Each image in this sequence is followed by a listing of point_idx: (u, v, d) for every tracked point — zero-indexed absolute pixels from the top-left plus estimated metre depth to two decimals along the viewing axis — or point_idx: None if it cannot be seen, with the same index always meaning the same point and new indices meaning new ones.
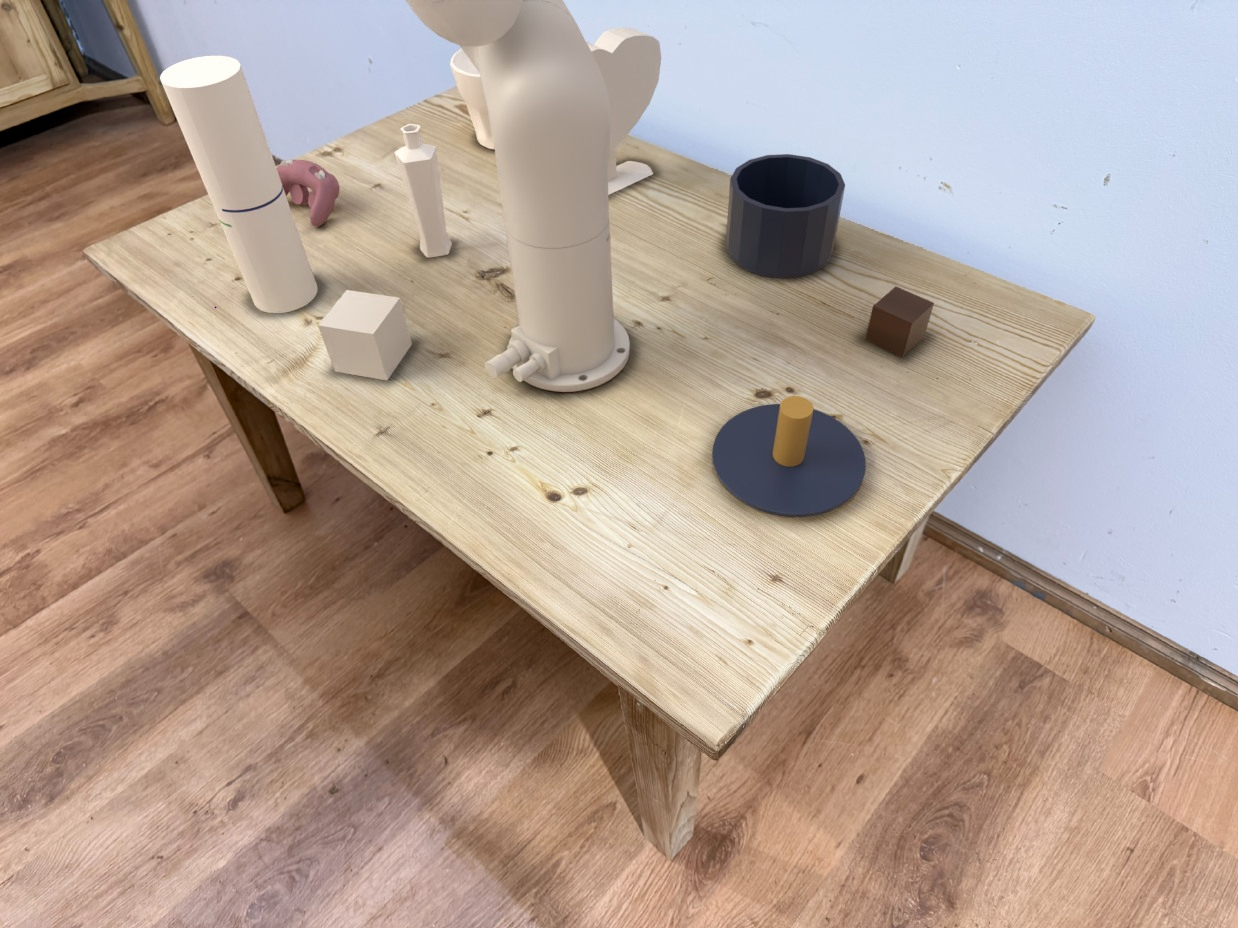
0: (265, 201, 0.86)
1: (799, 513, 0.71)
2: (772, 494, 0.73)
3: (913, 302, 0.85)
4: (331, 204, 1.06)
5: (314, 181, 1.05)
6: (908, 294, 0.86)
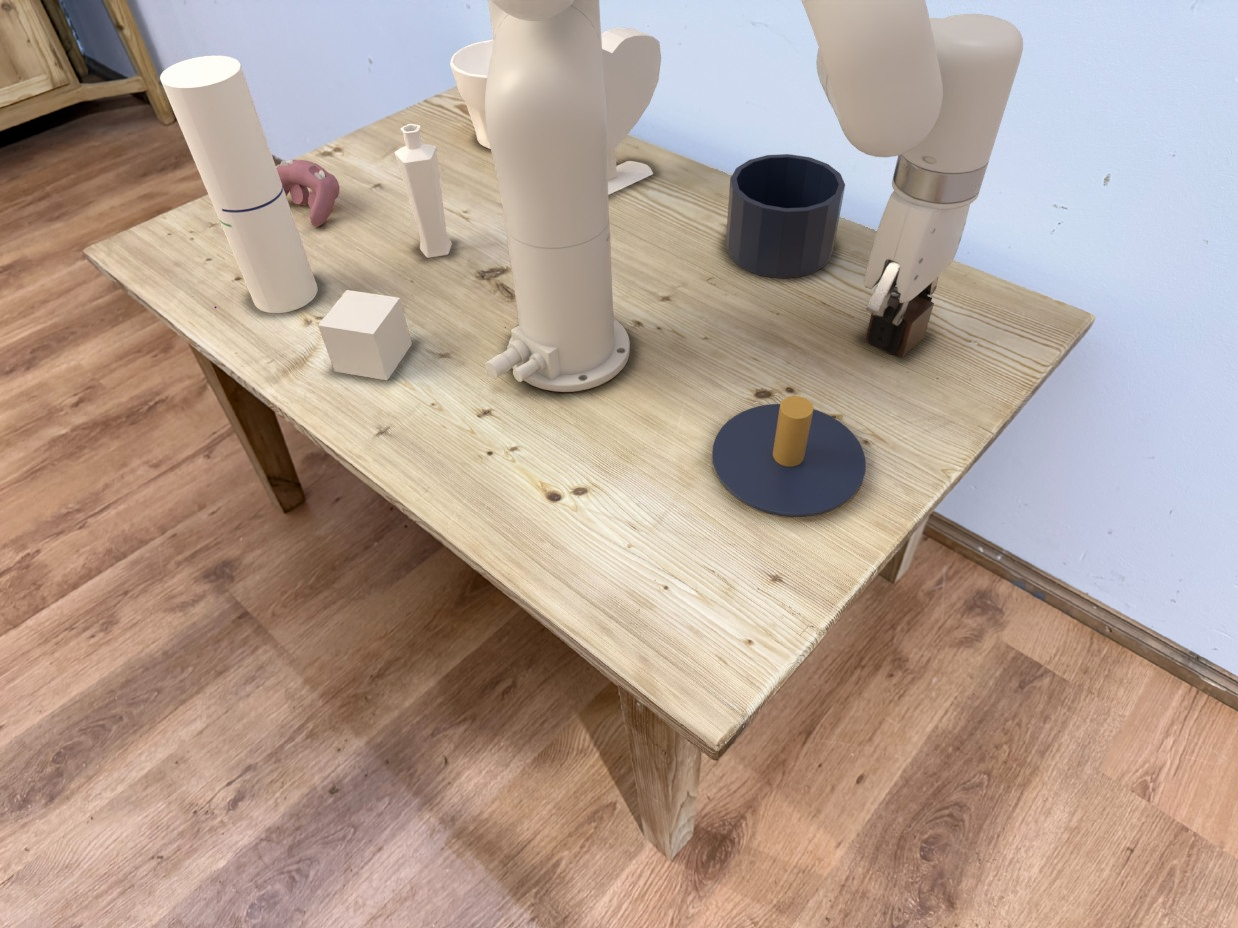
0: (265, 201, 0.86)
1: (799, 513, 0.71)
2: (772, 494, 0.73)
3: (913, 302, 0.85)
4: (331, 204, 1.06)
5: (314, 181, 1.05)
6: None
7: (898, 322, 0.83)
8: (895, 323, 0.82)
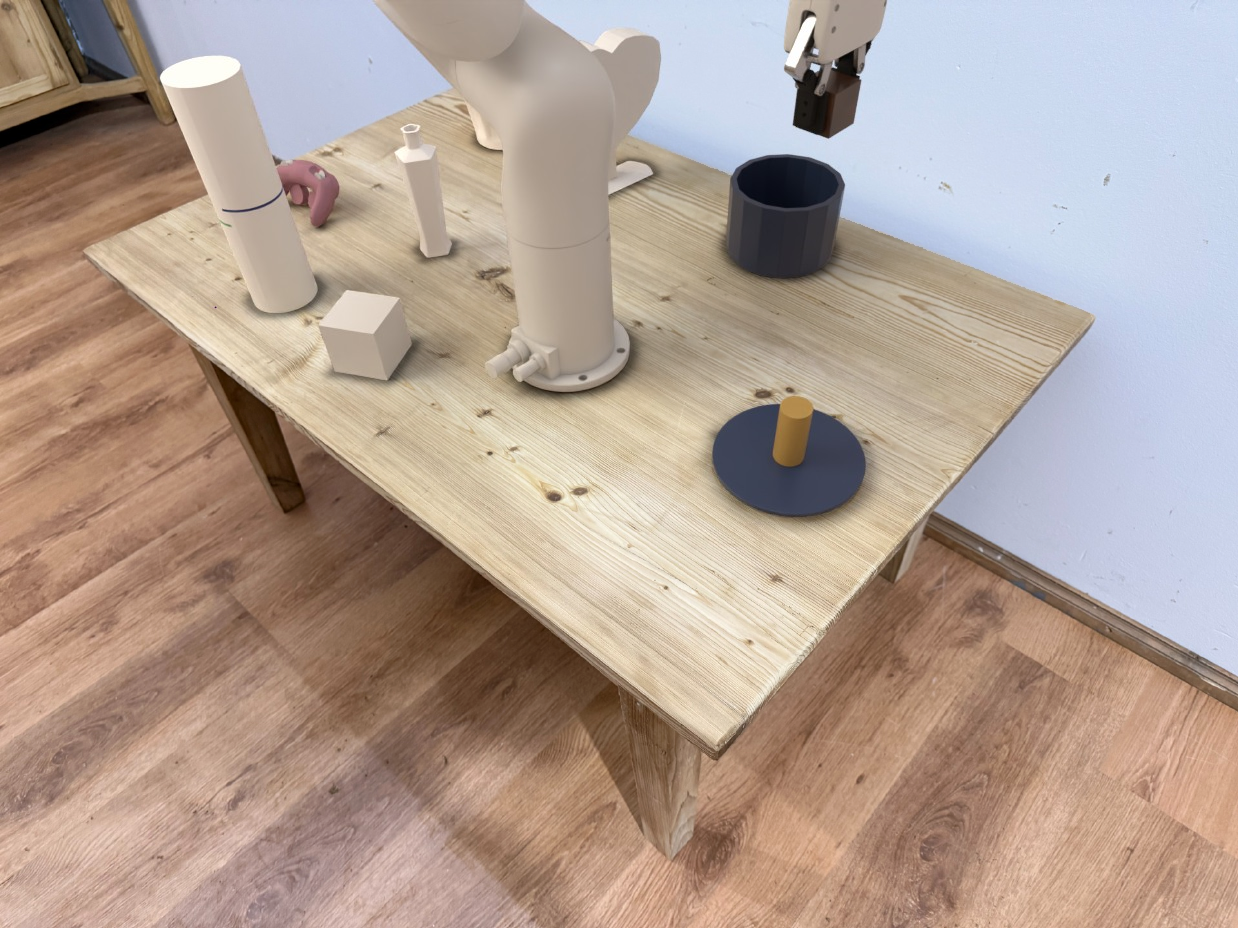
0: (265, 201, 0.86)
1: (799, 513, 0.71)
2: (772, 494, 0.73)
3: (840, 79, 0.82)
4: (331, 204, 1.06)
5: (314, 181, 1.05)
6: (835, 73, 0.83)
7: (820, 92, 0.80)
8: (817, 92, 0.80)
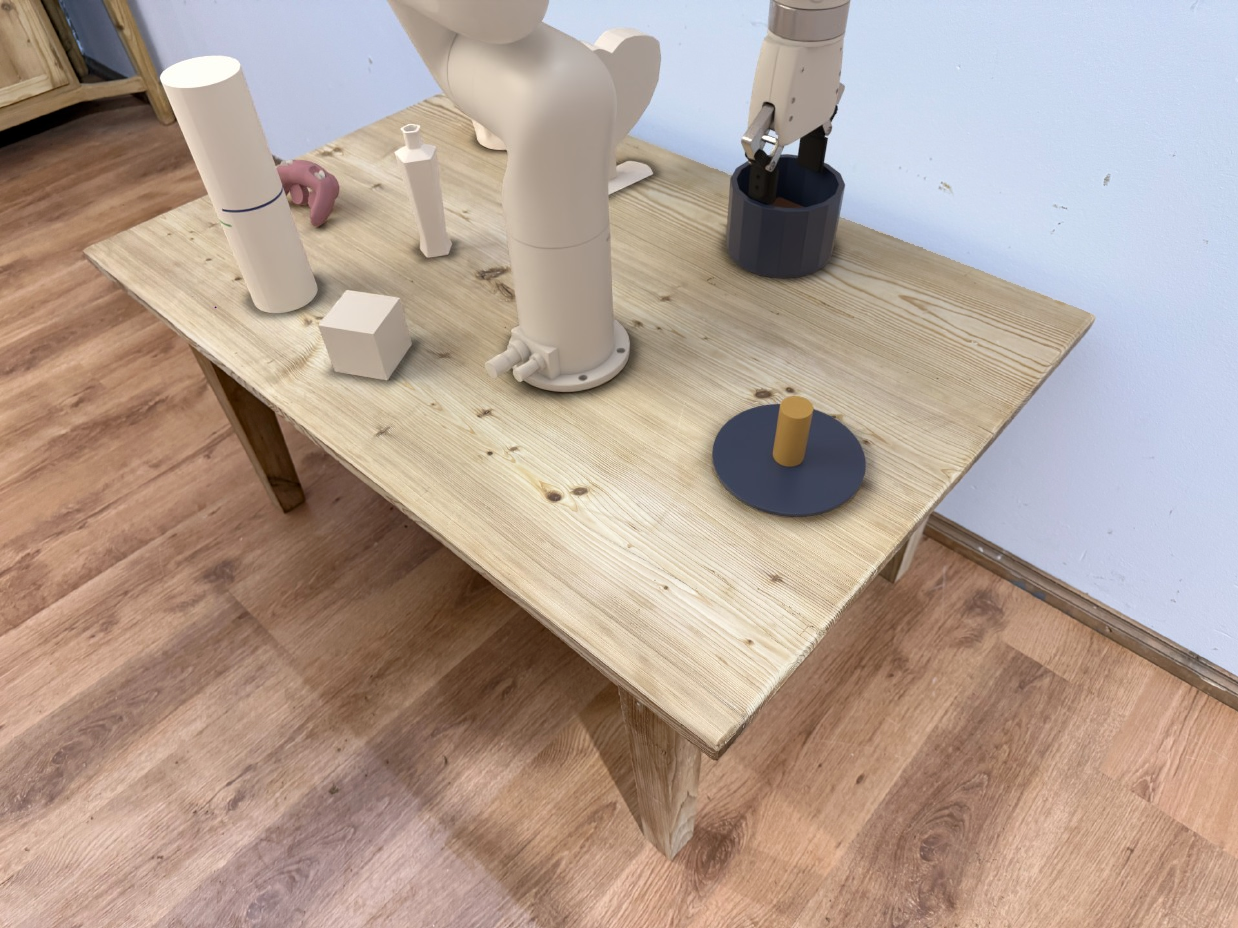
0: (265, 201, 0.86)
1: (799, 513, 0.71)
2: (772, 494, 0.73)
3: None
4: (331, 204, 1.06)
5: (314, 181, 1.05)
6: (788, 203, 0.98)
7: (771, 168, 0.88)
8: (768, 169, 0.88)
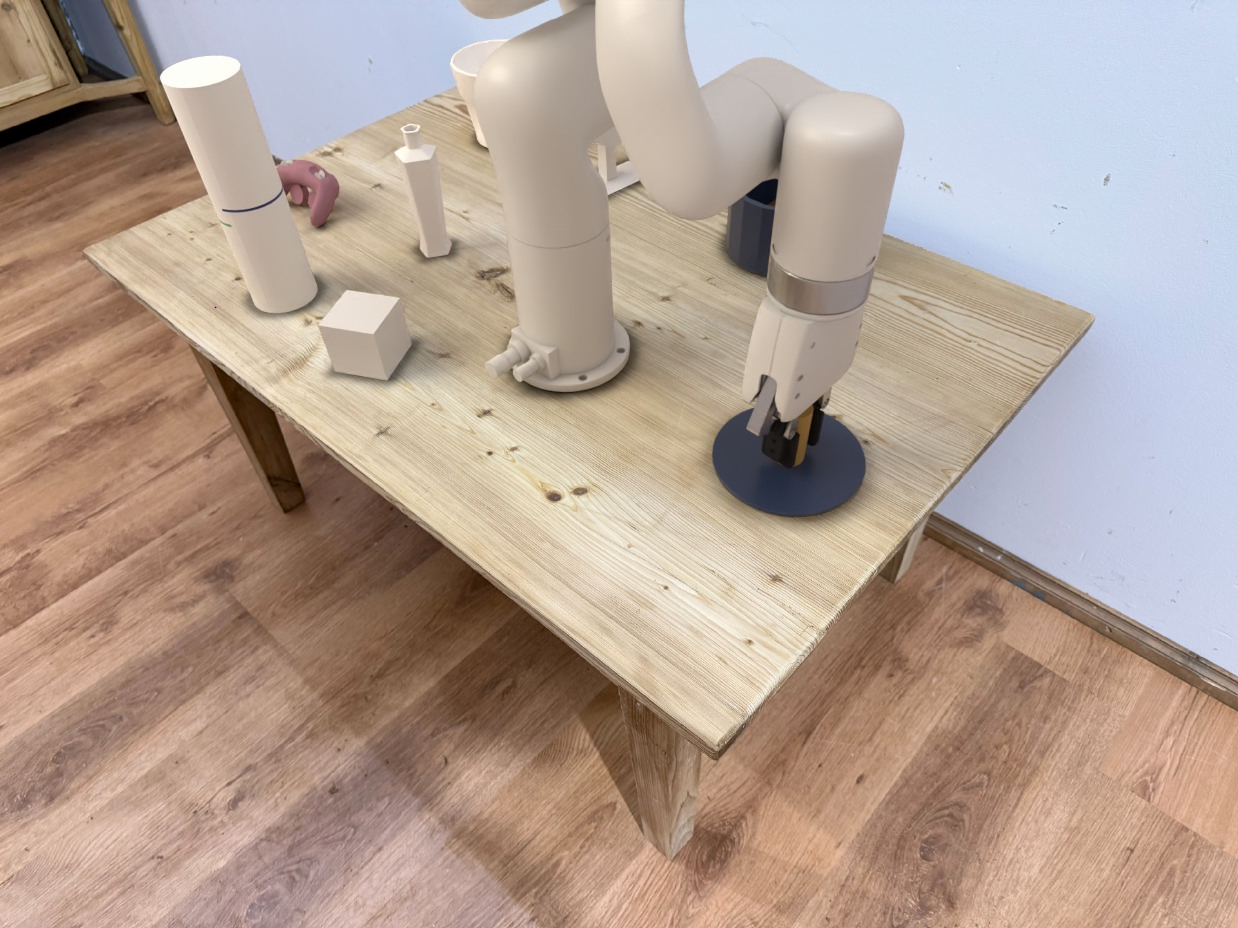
0: (265, 201, 0.86)
1: (799, 513, 0.71)
2: (772, 494, 0.73)
3: None
4: (331, 204, 1.06)
5: (314, 181, 1.05)
6: None
7: (790, 436, 0.70)
8: (786, 437, 0.70)
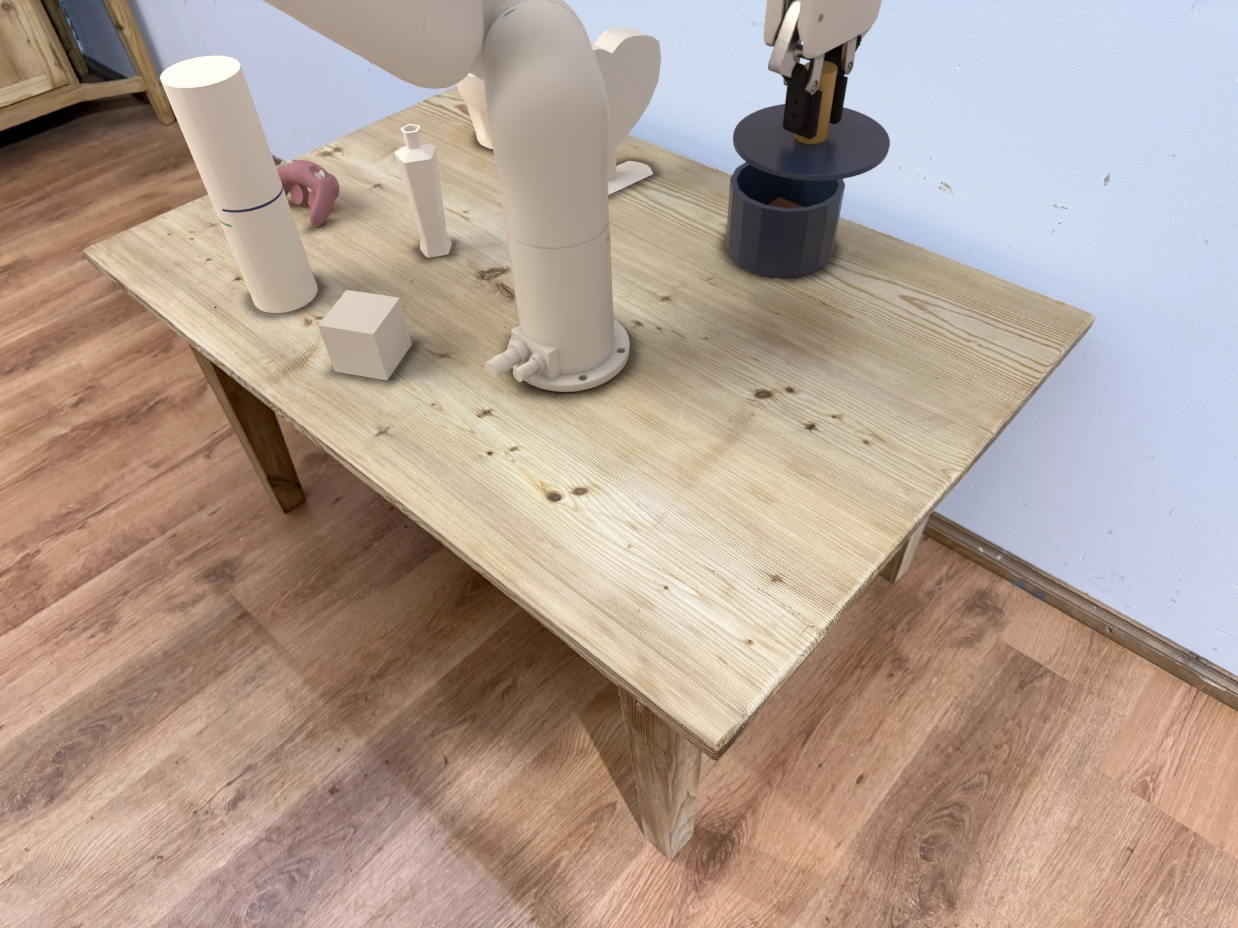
0: (265, 201, 0.86)
1: (821, 175, 0.70)
2: (793, 162, 0.72)
3: None
4: (331, 204, 1.06)
5: (314, 181, 1.05)
6: (788, 203, 0.98)
7: (812, 90, 0.69)
8: (808, 90, 0.69)
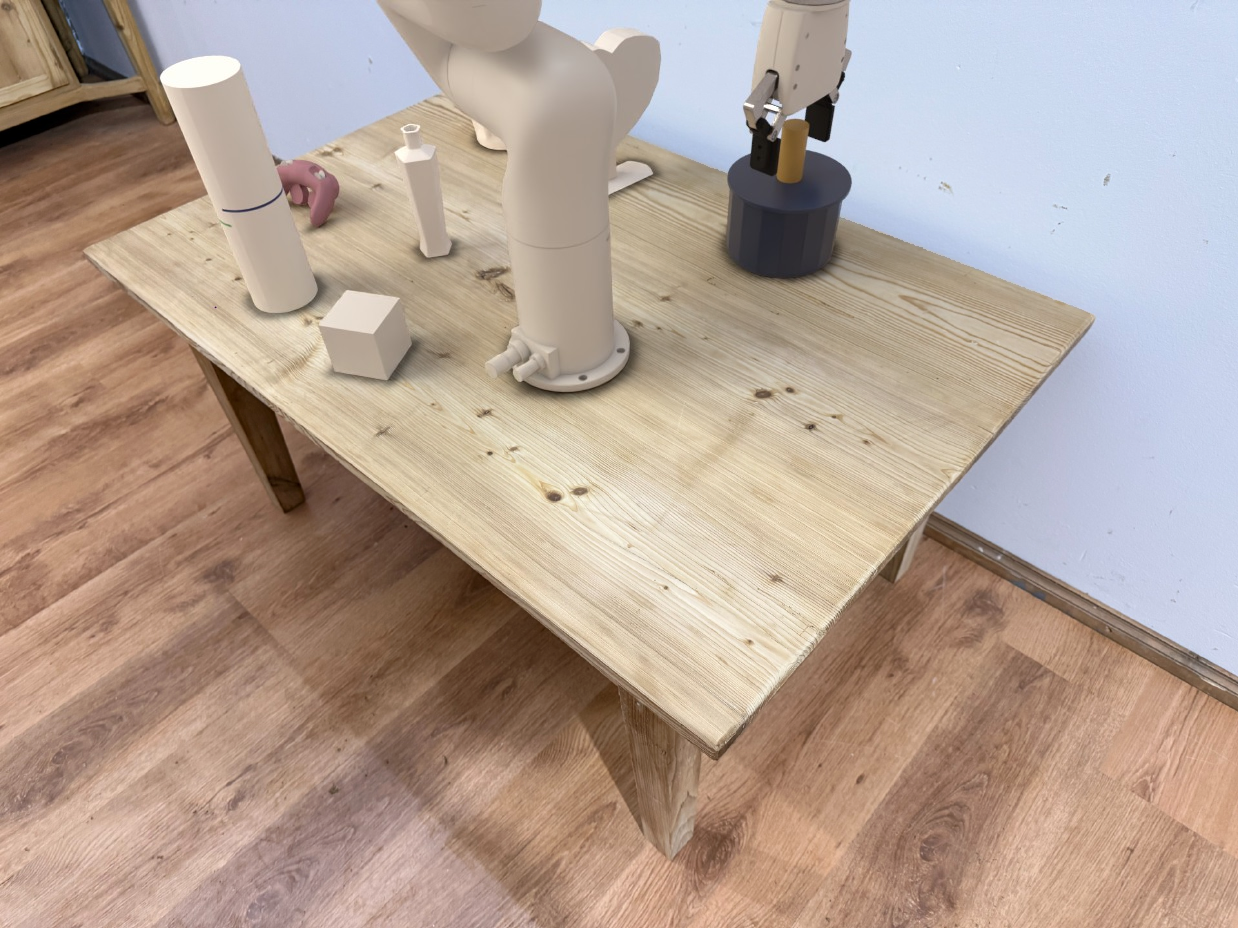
0: (265, 201, 0.86)
1: (798, 209, 0.89)
2: (776, 199, 0.91)
3: None
4: (331, 204, 1.06)
5: (314, 181, 1.05)
6: None
7: (773, 138, 0.85)
8: (770, 138, 0.85)
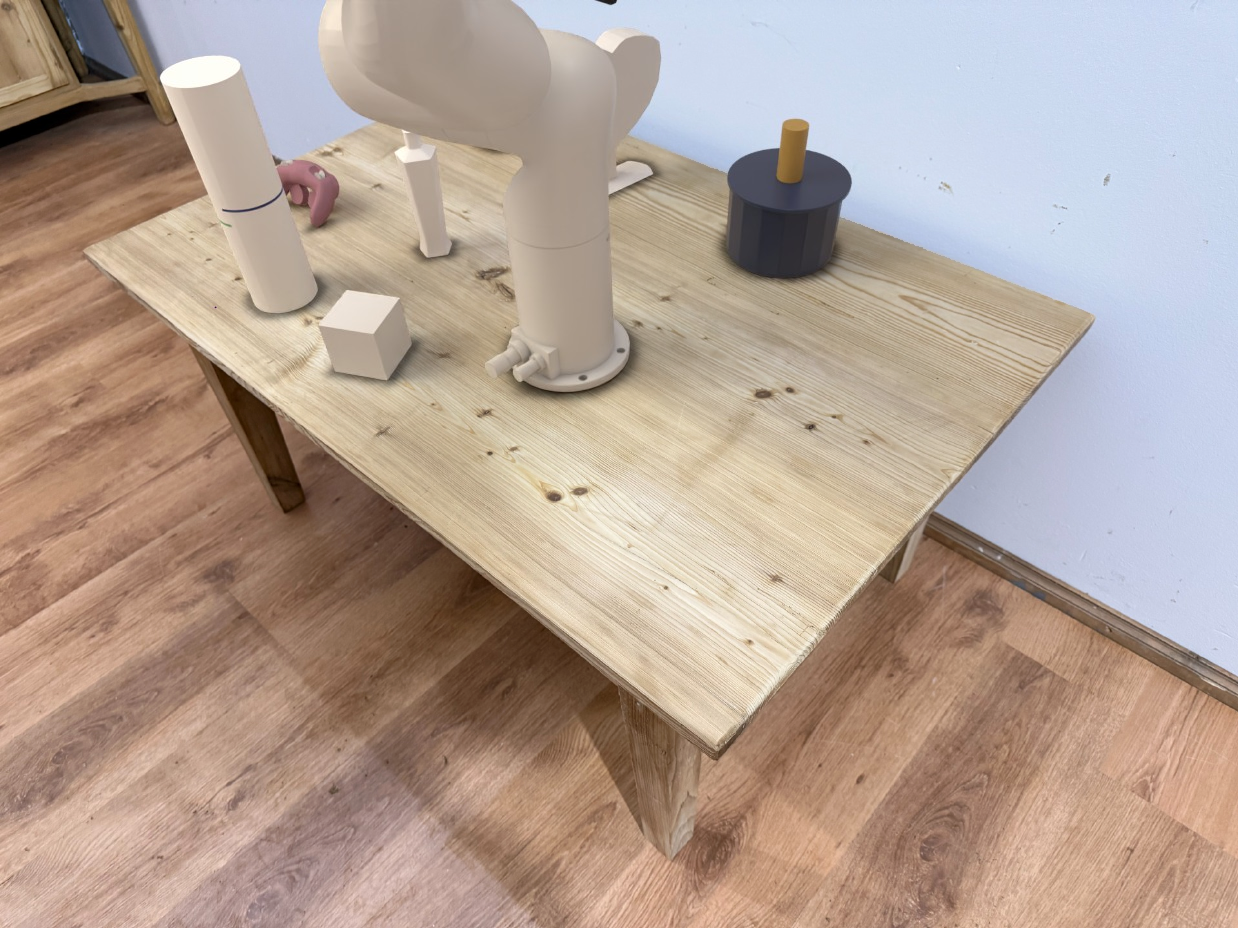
0: (265, 201, 0.86)
1: (798, 209, 0.89)
2: (776, 199, 0.91)
3: None
4: (331, 204, 1.06)
5: (314, 181, 1.05)
6: None
7: None
8: None
